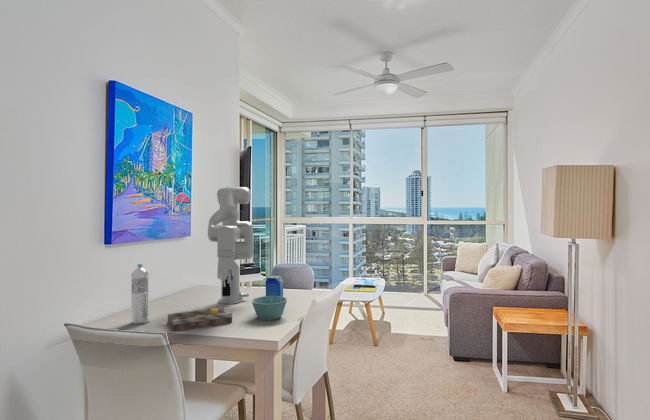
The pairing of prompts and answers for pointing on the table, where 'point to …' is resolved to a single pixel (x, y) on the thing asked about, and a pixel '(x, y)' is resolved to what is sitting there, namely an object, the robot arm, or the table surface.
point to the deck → (198, 319)
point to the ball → (213, 311)
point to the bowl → (269, 307)
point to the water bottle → (139, 296)
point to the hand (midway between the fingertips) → (226, 295)
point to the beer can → (274, 286)
